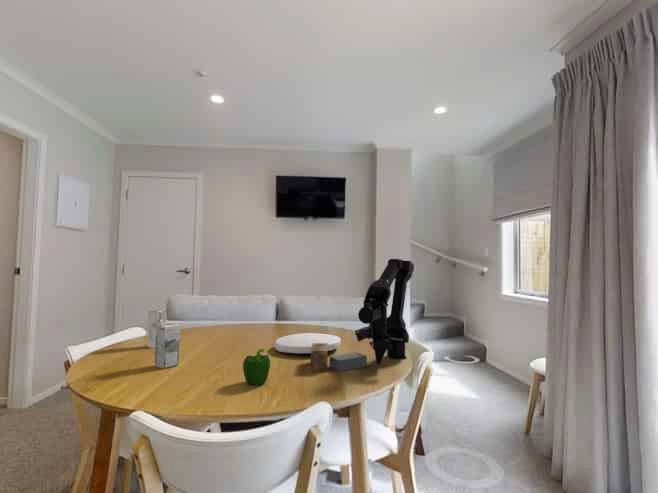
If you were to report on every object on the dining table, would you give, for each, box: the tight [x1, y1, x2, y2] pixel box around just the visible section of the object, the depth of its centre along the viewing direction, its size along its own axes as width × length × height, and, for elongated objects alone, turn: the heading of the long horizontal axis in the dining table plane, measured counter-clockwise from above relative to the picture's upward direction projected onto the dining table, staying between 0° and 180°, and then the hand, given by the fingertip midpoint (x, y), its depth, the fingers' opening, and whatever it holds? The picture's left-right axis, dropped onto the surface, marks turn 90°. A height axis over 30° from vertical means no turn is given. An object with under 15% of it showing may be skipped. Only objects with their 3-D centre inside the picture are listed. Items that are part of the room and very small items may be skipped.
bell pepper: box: [242, 348, 271, 386], centre depth 107 cm, size 8×8×10 cm
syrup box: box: [154, 322, 181, 370], centre depth 123 cm, size 6×6×14 cm
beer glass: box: [146, 309, 166, 349], centre depth 151 cm, size 7×7×15 cm
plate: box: [274, 332, 342, 354], centre depth 149 cm, size 28×6×27 cm
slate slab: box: [329, 351, 368, 372], centre depth 125 cm, size 12×6×4 cm, turn 121°
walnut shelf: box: [310, 343, 328, 372], centre depth 125 cm, size 6×11×7 cm, turn 0°
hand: (378, 363), depth 125 cm, fingers closed
